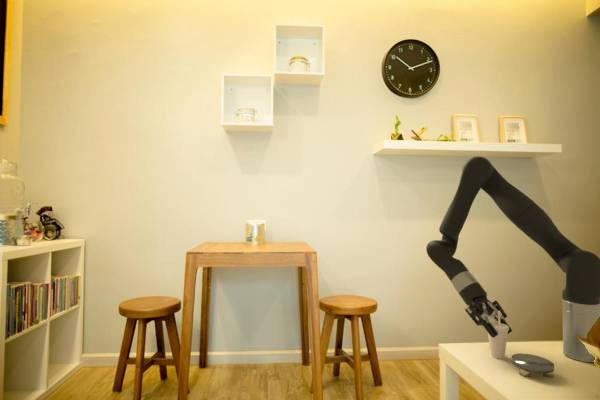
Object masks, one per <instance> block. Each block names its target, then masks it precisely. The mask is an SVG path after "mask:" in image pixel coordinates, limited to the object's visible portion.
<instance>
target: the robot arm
mask: <svg viewBox="0 0 600 400" xmlns="http://www.w3.org/2000/svg"><path fill="white" fill-rule="evenodd" d="M480 190H483V192H484V193H486V194H487V195H488V196H489V197H490V198H491V199H492V200H493V202H494V204H495V205H496V206H497V207H498V209H499V210H500V211H501V213H503V214H504V216H505V217H506V218H508V220H509V221H510V222H511V223H513V225H514V226H516V228H517V229H519V230H520V231H521V232H522V233H524V235H526V236H527V237H528V238H529V239H531V240H532V241H533V242H535V244H537V245H538V246H540V248H542V249H543V250H544V251H545V252H546V253H547V255H549V257H550V258H551V259H552V260H553V262H555V264H556V265H557V266H558V267H559V269H560V270H561V271H562V272H563V273H564V274H565V286H564V289H563V290H562V291H561V293H562V295H561V298H562V305H561V306H562V354H563V355H564V356H565V357H568V358H569V359H573V360H576V361H578V362H583V363H591V362H592V363H593V361H594V360H595V357H594V356H593V355H592V354H590V353H589V352H588V350H587V349H586V347H585V345H584V344H583V343H582V342H581V341H580V340H579V339H578V338H577V335H579V336H581V337H582V338H585V339H586V338H587V334H588V332H589V331H590V329H591V328H592V326H593V325H594V324H595V322H596V321H597V319H598V318H599V317H600V257H599V256H598V255H596V254H595V253H593V252H591V251H588V250H584V249H582V248H580V247H579V246H577V245H576V244H575V243H573V242H572V241H571V240H570V239H568V238H567V237H566V236H565V235H564V234H562V233H561V232H562V231H560V230H559V229H558V227H557V226H556V224H555V223H554V222H553V220H552V218H551V217H550V216H549V215H548V213H547V212H546V211H545V210H544V209H542V208H541V207H540V205H538V204H537V203H536V202H535V201H534V200H532V199H531V197H529V196H528V195H526V194H525V193H524V192H523V191H521V190H520V189H518V188H517V187H516V186H514V185H513V184H511V183H510V182H509V181H508V180H507V179H506V178H505V177H503V175H502V174H501V173H500V172H499V171H498V170H497V169H496V168H495V167H494V165H493V164H492V162H491V161H490V160H489V159H487V158H486V157H484V156H473V157H470V158H469V159H467V160H466V161H465V162H464V163H463V166H462V169H461V175H460V180H459V183H458V186H457V189H456V192H455V194H454V195H453V198H452V201H451V203H450V204H449V206H448V208H447V211H446V213H445V214H444V216H443V219H442V221H441V223H440V225H439V229H438V230H439V231H438V232H439V233H440V234H441V235H442V237H441V240H437V239H433V240H430V241H429V242H428V243H427V245H426V247H425V248H426V254H427V256H428V258H429V259H430V260H431V261H432V262H433V263H434V264H435V265H436V266H437V267H438V268H439V269H440V270H442V271H443V272H444V274H445V275H446V276H447V278H448V279H449V281H450V283H451V284H452V286H453V287H454V289H455V290H456V292H457V293H458V295H459V297H461V299H462V301H463V302H464V304H465V305H466V306H467V307H466V308H465V309H464V310H465V312H466V313H467V315H469V317H470V318H471V320H472V321H473V322H474V323H475V325H476V326H478V327H479V326H481V327H483V328H484V330H486V332H487V334H488V333H489V334H490V335H491V337H496V336H497V335H498V333H497V331H496V330H495V328H494V327H493V326H492V324H491V323H489V322H490V319H491V320H492V319H493V320H494V322H498V311H500V323H503V324H506V325H508V326H509V331H508V335H510V333H511V332H512V331H513V329H512V328H511V326H510V324H508V323H507V321H506V318H508V315H507V314H506V312H505V311H504V309H503V307H502V306H501V304H500V303H499V301H498V300H494V301H491V300H489V299H488V298H487V297H488V296H487V295H488V292H486V290H485V289H484V287H483V286H482V285H481V284H480V282H479V281H478V280H477V278H476V277H475V276H474V274H473V273H471V272H470V270H469V269H468V267H466V265H465V264H464V263H463V262H462V260H461V259H459V258H458V259H457V258H456V257H454V256H455V253H456V252H457V248H458V242H459V238H460V237H459V235H460V234H461V232H462V230H463V227H464V225H465V224H466V220H467V218H468V217H469V214H470V210H471V208H472V205H473V203H474V201H475V199H476V197H477V195H478V194H479V192H480ZM489 318H490V319H489Z"/></svg>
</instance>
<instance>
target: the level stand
mask: <svg viewBox="0 0 600 400" xmlns="http://www.w3.org/2000/svg"><path fill="white" fill-rule="evenodd" d="M511 363H512V364H513V365H514V366H515V367H517V368H519V369H518V371H519V373H518V374H519V375H520V376H521V377H524V378H531V373H535V374H542V376H543V377H545V378H549V379H554V378H555V364H554V362H553V361H551V360H549V359H547V358H545V357H542V356H538V355H536V354H531V353H515V354H513V355H511Z"/></svg>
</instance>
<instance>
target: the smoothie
mask: <svg viewBox="0 0 600 400" xmlns="http://www.w3.org/2000/svg"><path fill="white" fill-rule="evenodd" d="M500 314H501V312H500V311H498V317H497V318H498V322H497V321H489V323H491V324H492V326H493V327H494V328H495V330H496V331H497V333H498V335H497V336H496V337H491V335H490V334H489V333H488V332H487V337H488V344H489V351H490V357H492V358H495V359H497V360H498V359H501V360H502V359H503V358H504V359H505V357H506V348H507V342H508V341H507V340H508V335H509V334H508V331H509V326H510V325H509V324H508V325H509V326H508V325H506V324H503V323H500ZM504 359H503V360H504Z"/></svg>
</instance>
